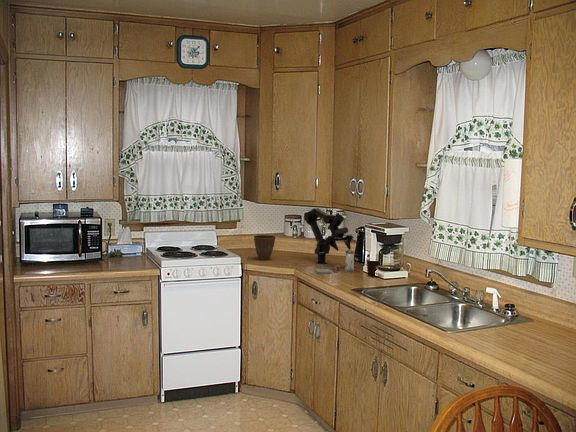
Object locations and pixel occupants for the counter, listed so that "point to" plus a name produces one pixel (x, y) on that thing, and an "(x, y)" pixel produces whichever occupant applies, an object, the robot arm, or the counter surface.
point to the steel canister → (349, 261)
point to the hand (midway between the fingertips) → (344, 250)
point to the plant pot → (264, 246)
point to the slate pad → (323, 271)
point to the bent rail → (336, 268)
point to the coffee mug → (372, 267)
